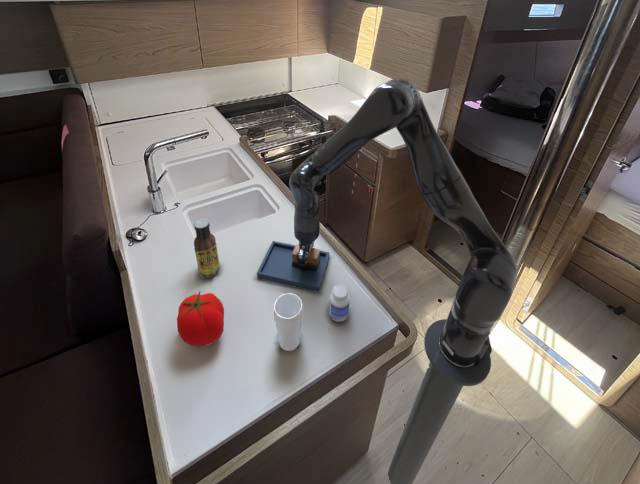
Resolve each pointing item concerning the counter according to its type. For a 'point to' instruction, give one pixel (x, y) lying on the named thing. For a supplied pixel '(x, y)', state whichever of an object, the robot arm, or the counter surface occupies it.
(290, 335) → the drinking glass
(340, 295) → the pill bottle
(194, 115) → the counter surface
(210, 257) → the sauce bottle
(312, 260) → the eraser
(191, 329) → the tomato
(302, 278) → the tray
